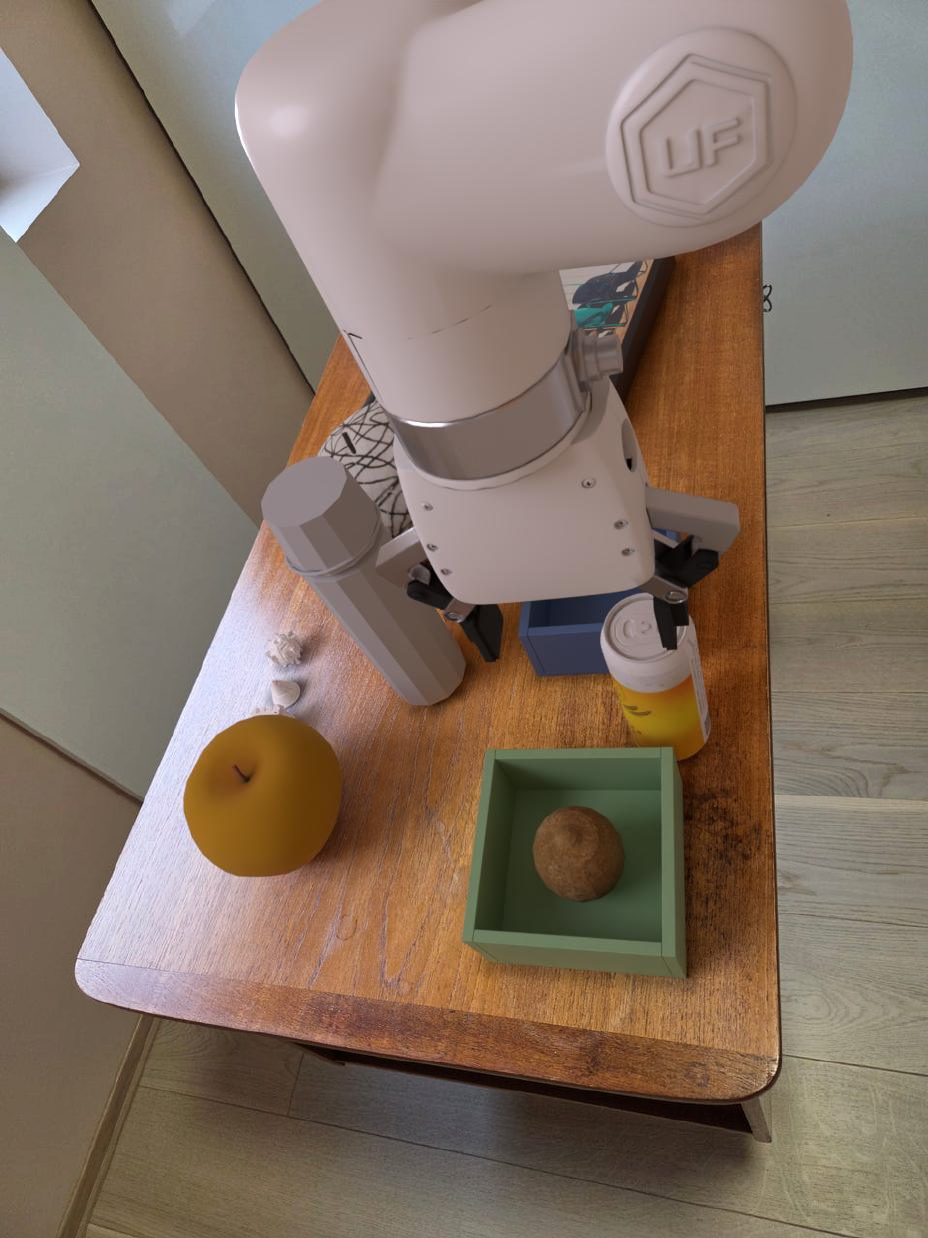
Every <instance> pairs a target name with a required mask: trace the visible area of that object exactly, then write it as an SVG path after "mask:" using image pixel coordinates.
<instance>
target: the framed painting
mask: <svg viewBox="0 0 928 1238" xmlns="http://www.w3.org/2000/svg"><path fill="white" fill-rule="evenodd" d="M676 261H677V260H676V255H674V256H669V257H665V258H659V259H652V260H645V261H638V262H629V263H620V264H611V265H602V266H592V267H582V268H574V269H565V270H559V273H560V277H561V281H562V284H563V288H564V292H565V296H566V300H567V304H568V308H569V310H572V309H573V310H574V313H575V317H576V321H577V325H578V328H582V327H583V329H584V331H585V333H586V335H587V336H589V335H593V334H596V335H597V336H598V338H599V337H603V336H608V335H613V334H618V335H619V339H620V344H621V350H622V358H623V372H622V373H617V374H612V375H608V377H609V378H610V380H611V382H612V384H613V385H614V387H615V389H616V391H617V393H618V395H619V397H620V399H621V401H622V403H623V406H624V407H625V404H626V401H627V398H628V396H629V393H630V390H631V387H632V386H633V385H632V384H633V382H634V379H635V376H636V374H637V371H638V368H639V365H640V363H641V360H642V357H643V355H644V351H645V349H646V346H647V344H648V340H649V339H650V338H649V337H650V334H651V332H652V329H653V326H654V324H655V322H656V318H657V316H658V313H659V311H660V307H661V304H662V301H663V299H664V297H665V293H666V290H667V287H668V285H669V282H670V279H671V277H672V274H673V272H674V268H675V265H676V263H677V262H676ZM376 401H377V399H376V397H375V395H374V393H373V391H372V390H370V391H369V394H368V396H367V397H366V399H365V400H364V403H363V404H362V406H361V407H360V409H362V408H363V407H365V406H367V405H369V404H371V403H373V402H376Z"/></svg>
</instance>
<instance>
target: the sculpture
mask: <svg viewBox="0 0 928 1238" xmlns="http://www.w3.org/2000/svg"><path fill="white" fill-rule="evenodd" d="M361 408H362V407H361ZM361 408H360V409H358V410H356V411H354V412H353V413H352V414H351V415H350V416H349V417H347V418H346V419H345V420H343V422H342V423H340V424H339V425H338V426H336V427H335V428H334V429H333V430H332V431H331V432H330V434H329V436H328V437H327V438H326V440H325V441H324V442H323V444H322V445H321V447H320V449H319V451H318V452H317V454H316V456H315V457H320V456H329V457H331V458H333V459H335V460H337V461H339V462H341V463H343V464H344V466H345V467H346V468H347V470H348V471H349V472H350V473H351V475H352V476H353V477H354V478H355V480H356V481H357V482H358V483H359V485H360V486H361V487H362V488H363V490H364V491H365V492H366V494H367V495H368V496H369V497H370V499H372V500H373V501H374V502H375V503H376V504H377V505H378V506H379V507H380V511H381V520H382V522H383V524H384V525H385V527H386V529H387V530H388V532H389V533H390V535H391V537H392V538H393V539H395V538H396V537H398V536H399V535H401V534H403V533H404V532H406V531H407V530H409V529H411V528H412V527H414V525H413V522H412V519H411V517H410V514H409V511H408V508H407V504H406V501H405V498H404V495H403V491H402V488H401V484H400V480H399V476H398V473H397V468H396V464H395V459H394V454H393V442H394V437H395V433H394V431H393V429H392V427H391V425H390V423H389V421H388V419H387V418H386V416H385V414H384V412H383V410H382V408H381V406H380V405H379V403H378V401H376V402H373V403H371V404H369V405H367V406H365V407H363V408H362V409H361ZM427 561H429V559H426V560H424V561H423V562H424V563H427Z"/></svg>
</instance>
